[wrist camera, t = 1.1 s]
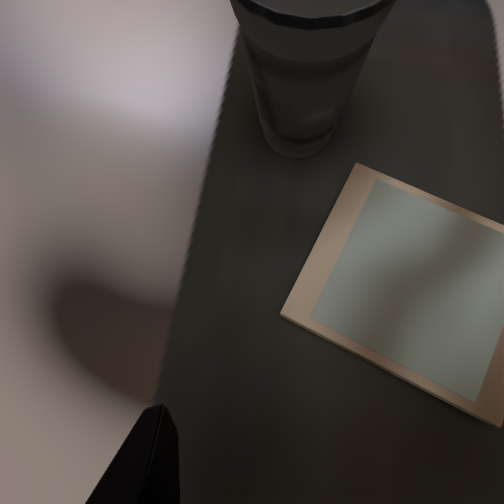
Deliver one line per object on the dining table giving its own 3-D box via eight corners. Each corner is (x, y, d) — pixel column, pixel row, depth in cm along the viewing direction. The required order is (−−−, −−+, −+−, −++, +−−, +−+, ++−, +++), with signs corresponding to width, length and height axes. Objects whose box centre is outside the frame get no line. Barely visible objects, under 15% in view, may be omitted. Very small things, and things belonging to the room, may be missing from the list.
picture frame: (543, 257, 22) (564, 250, 20) (484, 422, 20) (501, 428, 18) (351, 173, 24) (356, 161, 22) (279, 315, 22) (280, 312, 20)
